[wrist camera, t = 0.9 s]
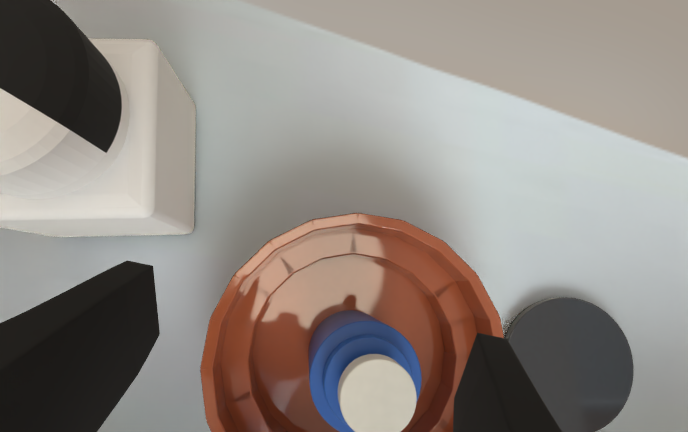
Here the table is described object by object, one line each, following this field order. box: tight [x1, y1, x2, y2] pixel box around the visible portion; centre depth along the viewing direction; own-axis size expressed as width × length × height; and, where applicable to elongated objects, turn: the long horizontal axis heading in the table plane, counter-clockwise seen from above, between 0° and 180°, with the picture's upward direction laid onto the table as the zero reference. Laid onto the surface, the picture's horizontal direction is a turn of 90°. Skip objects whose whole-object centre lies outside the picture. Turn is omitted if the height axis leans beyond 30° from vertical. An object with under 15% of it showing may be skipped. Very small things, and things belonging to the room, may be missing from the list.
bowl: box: [200, 213, 504, 432], centre depth 22 cm, size 13×13×4 cm
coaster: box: [505, 297, 633, 432], centre depth 25 cm, size 7×7×1 cm
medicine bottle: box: [0, 0, 196, 237], centre depth 19 cm, size 7×7×12 cm
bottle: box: [309, 310, 422, 432], centre depth 19 cm, size 4×4×10 cm
